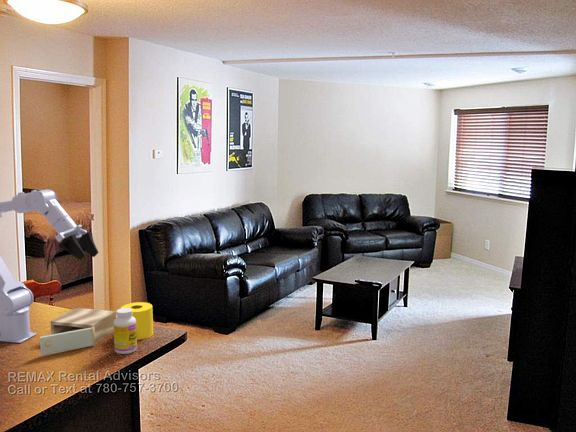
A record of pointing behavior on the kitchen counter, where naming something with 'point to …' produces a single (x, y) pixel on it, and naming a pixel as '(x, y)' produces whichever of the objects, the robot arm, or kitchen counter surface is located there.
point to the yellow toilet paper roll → (142, 318)
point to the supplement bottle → (125, 331)
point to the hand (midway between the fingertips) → (89, 256)
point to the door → (67, 341)
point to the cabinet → (85, 322)
